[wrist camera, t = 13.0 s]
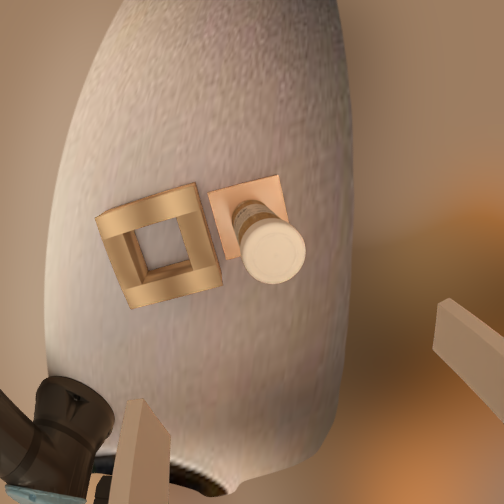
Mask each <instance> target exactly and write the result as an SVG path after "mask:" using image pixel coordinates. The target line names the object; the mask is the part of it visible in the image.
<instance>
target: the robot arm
mask: <svg viewBox="0 0 504 504" xmlns="http://www.w3.org/2000/svg"><path fill="white" fill-rule="evenodd" d="M433 350H434V351H435V352H436V353H437V354H438V355H439V356H440V357H441V358H442V359H443V360H444V361H445V362H446V363H447V364H448V365H449V366H450V367H451V368H452V369H453V370H454V371H455V372H456V373H457V374H458V375H459V376H460V377H461V378H462V379H463V380H464V382H465V383H466V384H468V386H469V387H470V388H471V389H472V390H473V391H474V392H475V393H476V394H477V395H478V396H479V397H480V398H481V399H482V400H483V401H484V403H485V404H487V406H488V407H489V408H490V409H491V410H492V411H493V412H494V413H495V414H496V415H497V417H498V418H499V419H500V420H501V421H502V422H503V423H504V338H503V337H502V336H501V335H499V334H498V333H497V332H495V331H494V330H492V328H490V327H489V326H488V325H486V324H485V323H484V322H482V321H481V320H480V319H478V318H477V317H476V316H474V315H472V314H471V313H470V312H469V311H467V310H466V309H465V308H463V307H462V306H460V305H459V304H458V303H456V302H455V301H453V300H452V299H451V298H448V299H446V300H444V301H442V302H441V303H438V308H437V318H436V328H435V336H434V343H433ZM113 425H114V414H113V412H112V410H111V408H110V406H109V405H108V404H107V403H106V401H105V400H104V399H103V398H102V397H101V396H100V395H98V394H97V393H96V392H95V391H93V390H92V389H90V388H89V387H87V386H85V385H83V384H81V383H79V382H77V381H75V380H72V379H69V378H65V377H58V376H54V377H48V378H46V379H44V380H43V381H42V383H41V384H40V386H39V388H38V390H37V392H36V404H35V412H34V420H33V422H32V421H31V420H30V419H29V418H28V417H27V416H26V415H25V414H24V413H23V412H22V411H20V409H19V408H18V407H17V406H15V404H14V403H13V402H12V401H11V400H10V399H9V398H8V397H7V396H6V395H5V394H4V393H3V392H2V390H1V389H0V478H1V479H2V480H4V481H5V482H6V483H7V485H5V491H6V493H7V495H8V496H10V497H11V498H12V499H13V500H15V501H17V502H18V503H20V504H85V503H86V502H87V500H86V496H87V491H88V486H89V481H90V477H91V472H92V468H93V463H94V459H95V455H96V452H97V451H98V450H99V448H100V447H101V446H102V444H103V443H104V441H105V439H107V438H108V437H109V435H110V434H111V432H112V429H113ZM170 440H171V436H170V434H169V433H168V432H167V430H166V429H165V428H164V426H163V425H162V424H161V422H160V421H159V420H158V418H157V417H156V416H155V414H154V413H153V411H152V410H151V409H150V407H149V406H148V404H147V403H146V401H145V400H144V398H142V399H136V400H129V401H127V405H126V410H125V414H124V419H123V423H122V428H121V433H120V438H119V443H118V448H117V453H116V458H115V464H114V470H113V476H102V478H101V480H100V481H99V483H98V484H97V486H96V492H95V499H94V504H169V463H170Z"/></svg>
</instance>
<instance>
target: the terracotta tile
mask: <svg viewBox="0 0 504 504" xmlns="http://www.w3.org/2000/svg"><path fill="white" fill-rule="evenodd" d="M208 197H209V201H210V204H211V208H212V212H213V215H214V219H215V222H216V226H217V229H218V233H219V236H220V240H221V243H222V247H223V250H224V254H225V257H226V260H229V259H233V258H236V257H240V256H241V254H240V247H239V245H238V242H237V238H236V235H235V232H234V229H233V226H232V214H233V211H234V210H235V208H236V207H237V206H238V205H239V204H240V203H242V202H244V201H246V200H258V201H261V202H262V203H264V204H265V205H266V206H267V207H268V208H269V209H270V210H271V211H273V212H274V213H275V214H276V215H277V216H278V217H280V218H281V219H282V220H284V221H286V222H288V217H287V212H286V207H285V203H284V198H283V194H282V189H281V185H280V180H279V176H278V175H273V176H269V177H265V178H261V179H257V180H253V181H249V182H245V183H241V184H237V185H233V186H229V187H226V188H222V189H218V190H215V191H211V192H208ZM288 223H289V222H288Z"/></svg>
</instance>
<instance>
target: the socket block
mask: <svg viewBox="0 0 504 504" xmlns="http://www.w3.org/2000/svg"><path fill="white" fill-rule="evenodd" d="M174 217H176V218H177V221H178V225H179V228H180V231H181V234H182V237H183V241H184V244H185V247H186V250H187V253H188V256H189V259H190V260H186V261H183V262H179V263H176V264H172V265H168V266H165V267H161V268H158V269H154V270H151V271H148V268H147V266H146V263H145V260H144V258H143V255H142V252H141V249H140V246H139V244H138V241H137V238H136V235H135V232H134V230H135V229H138V228H141V227H145V226H148V225H151V224H154V223H158V222H161V221H164V220H167V219H171V218H174ZM95 221H96V223H97V226H98V229H99V232H100V235H101V238H102V241H103V243H104V246H105V249H106V251H107V254H108V257H109V259H110V262H111V264H112V267H113V269H114V272H115V274H116V277H117V279H118V281H119V284H120V286H121V289H122V291H123V293H124V295H125V298H126V300H127V302H128V304H129V307H130V309H134V308H138V307H142V306H146V305H150V304H154V303H158V302H162V301H166V300H170V299H174V298H178V297H181V296H185V295H189V294H193V293H197V292H201V291H204V290H208V289H212V288H215V287H219V286H223V283H222V273H221V269H220V265H219V262H218V259H217V256H216V252H215V249H214V245H213V242H212V239H211V235H210V232H209V228H208V225H207V222H206V218H205V215H204V211H203V208H202V204H201V201H200V197H199V193H198V190H197V186H196V183H195V182H194V183H191V184H187V185H184V186H180V187H177V188H174V189H170V190H167V191H164V192H161V193H158V194H155V195H151V196H148V197H145V198H142V199H139V200H136V201H133V202H130V203H127V204H124V205H122V206H119V207H116V208H113V209H110V210H107V211H105V212H104V213H102V214H101V215H99V216H97V217H96V218H95Z"/></svg>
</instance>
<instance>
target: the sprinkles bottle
mask: <svg viewBox="0 0 504 504" xmlns="http://www.w3.org/2000/svg"><path fill="white" fill-rule="evenodd" d="M232 226H233V229H234V232H235V235H236V238H237V242H238V245H239V247H240V254H241V258H242V261H243V264H244V266H245V268H246V270H247V271H248V273H249V274H250V275H251V276H252V277H253V278H255V279H256V280H258V281H260V282H263V283H267V284H277V283H282V282H285V281H287V280H289V279H290V278H292V277H293V276H294V275H295V274H296V273H297V272H298V271H299V270H300V268H301V267H302V265H303V263H304V259H305V253H306V249H305V243H304V240H303V238H302V236H301V235H300V233H299V232H298V231H297V230H296V229H295V228H294V227H293V226H292V225H291V224H289V223H288V222H286V221H284V220H282V219H281V218H280V217H278V216H277V215H276V214H275V213H274V212H273V211H271V210H270V209H269V208H268V207H267V206H266V205H265V204H264V203H262V202H261V201H258V200H246V201H244V202H242V203H240V204H239V205H238V206H237V207H236V208H235V210H234V211H233V214H232Z"/></svg>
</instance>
